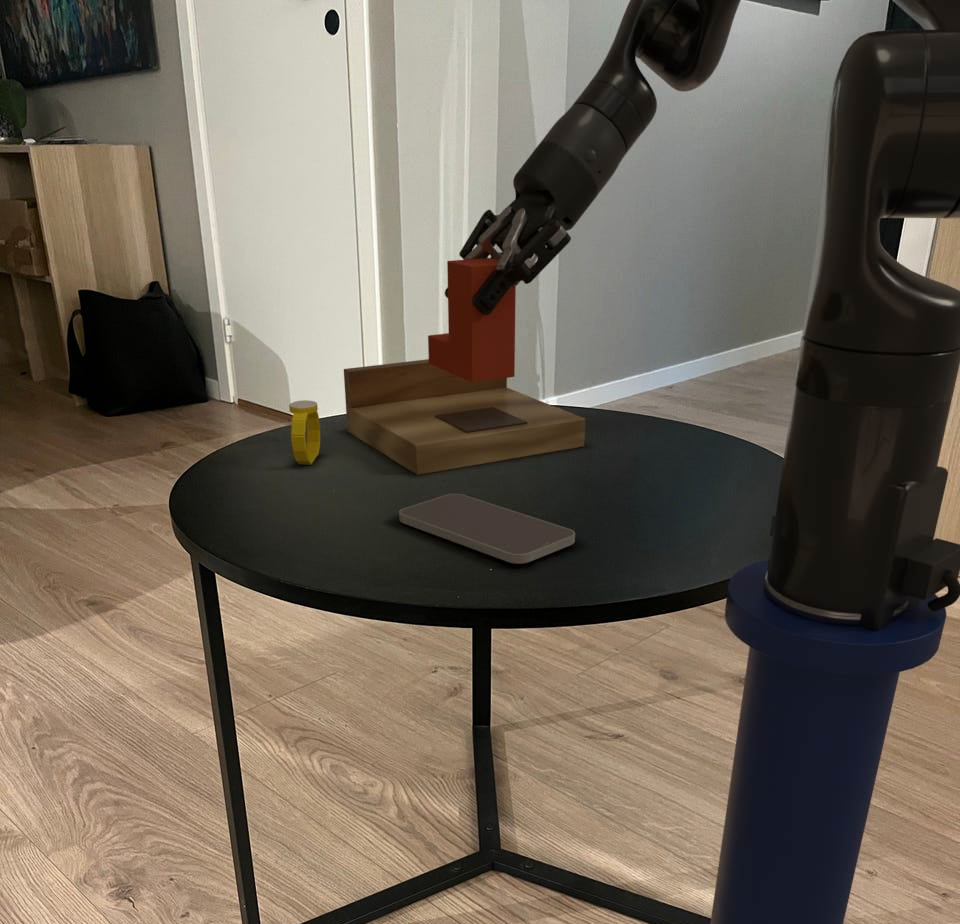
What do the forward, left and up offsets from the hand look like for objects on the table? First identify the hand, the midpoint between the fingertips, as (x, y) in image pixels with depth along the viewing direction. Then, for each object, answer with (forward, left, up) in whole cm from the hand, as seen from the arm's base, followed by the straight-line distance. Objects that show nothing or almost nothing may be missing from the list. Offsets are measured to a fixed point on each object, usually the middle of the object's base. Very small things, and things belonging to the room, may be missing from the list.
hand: (465, 304), depth 98 cm
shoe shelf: (+3, -3, -15) cm, 15 cm away
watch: (+8, +14, -15) cm, 22 cm away
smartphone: (-19, +15, -15) cm, 28 cm away
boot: (+2, -2, -7) cm, 8 cm away
